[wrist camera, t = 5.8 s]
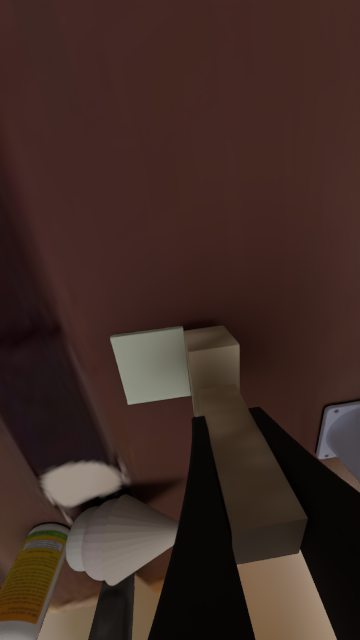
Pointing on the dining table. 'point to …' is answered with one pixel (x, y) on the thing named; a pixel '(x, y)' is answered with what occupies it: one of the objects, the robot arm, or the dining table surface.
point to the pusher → (241, 454)
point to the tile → (152, 364)
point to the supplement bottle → (32, 582)
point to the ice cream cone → (118, 538)
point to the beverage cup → (114, 611)
